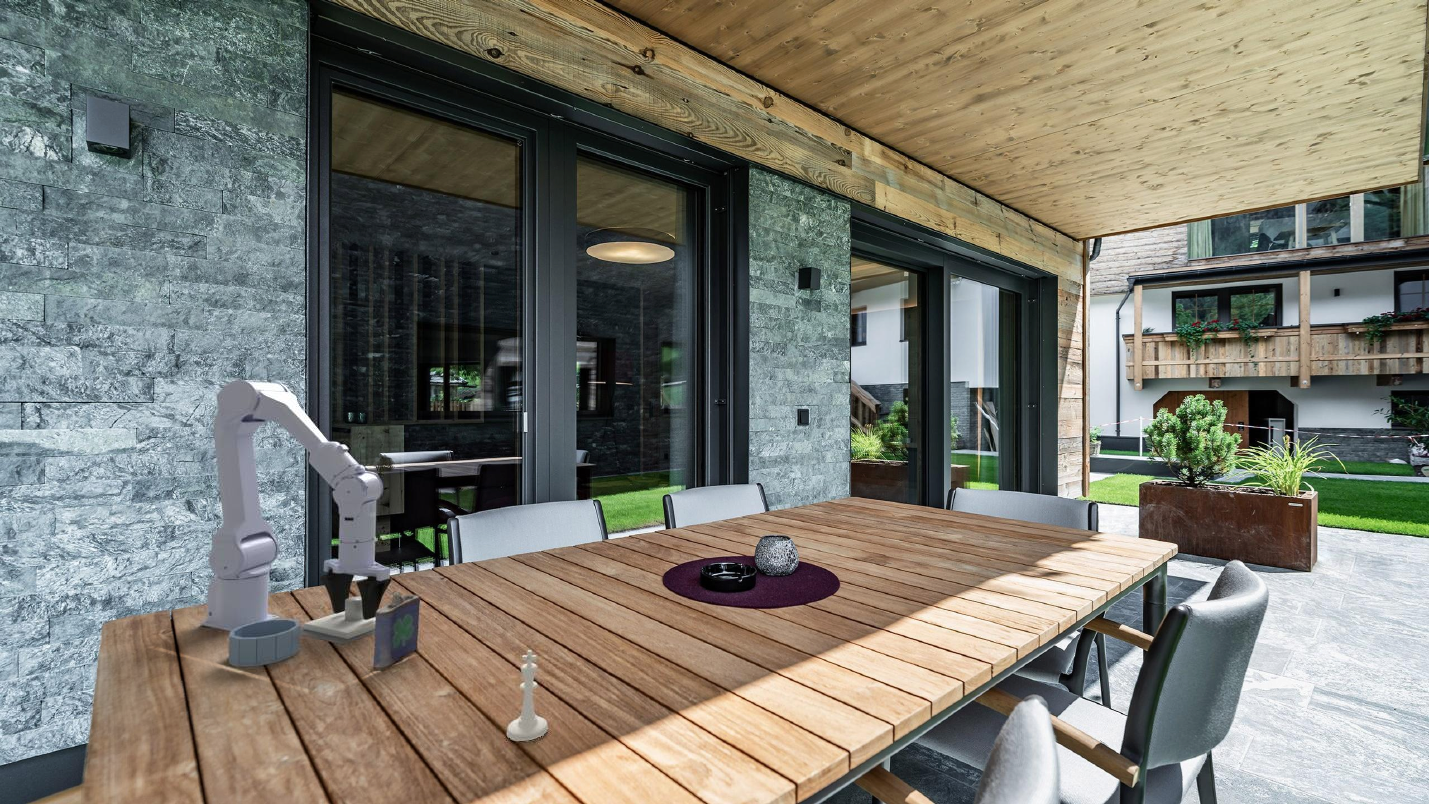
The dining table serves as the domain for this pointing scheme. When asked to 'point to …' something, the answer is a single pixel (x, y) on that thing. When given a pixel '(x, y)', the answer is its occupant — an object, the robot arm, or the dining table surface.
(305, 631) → the mat
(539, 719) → the chess piece
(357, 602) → the lid
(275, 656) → the bowl
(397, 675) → the dining table surface
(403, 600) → the flask
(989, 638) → the dining table surface
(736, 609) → the dining table surface
